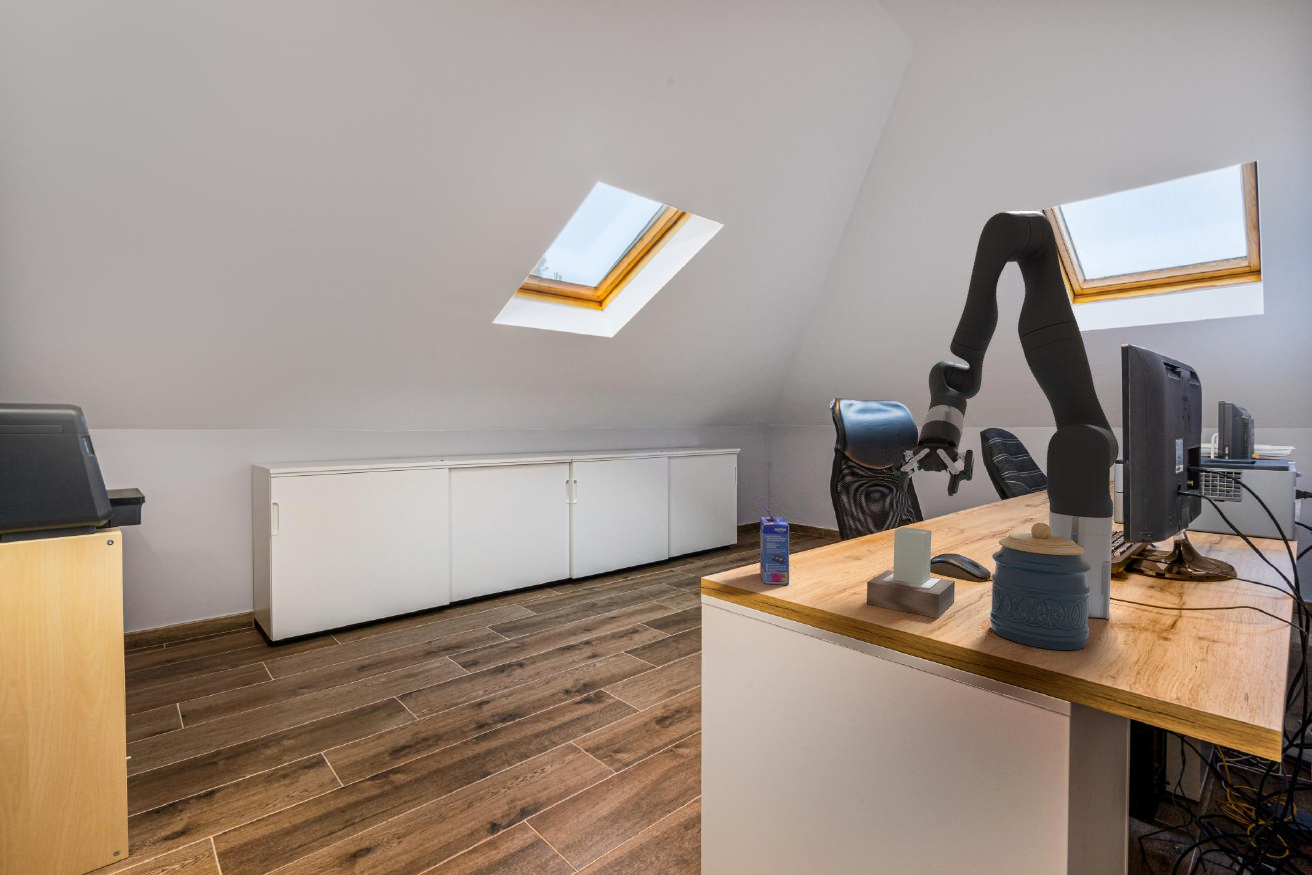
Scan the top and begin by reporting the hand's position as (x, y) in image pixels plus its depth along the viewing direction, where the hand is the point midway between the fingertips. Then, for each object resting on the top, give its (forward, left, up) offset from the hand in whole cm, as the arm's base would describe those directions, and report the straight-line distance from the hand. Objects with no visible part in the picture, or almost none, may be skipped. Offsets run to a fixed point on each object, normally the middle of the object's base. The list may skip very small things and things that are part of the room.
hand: (925, 491), depth 115 cm
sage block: (0, +8, -15) cm, 17 cm away
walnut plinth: (0, +8, -20) cm, 21 cm away
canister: (-20, +13, -20) cm, 31 cm away
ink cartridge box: (+27, +9, -20) cm, 35 cm away
